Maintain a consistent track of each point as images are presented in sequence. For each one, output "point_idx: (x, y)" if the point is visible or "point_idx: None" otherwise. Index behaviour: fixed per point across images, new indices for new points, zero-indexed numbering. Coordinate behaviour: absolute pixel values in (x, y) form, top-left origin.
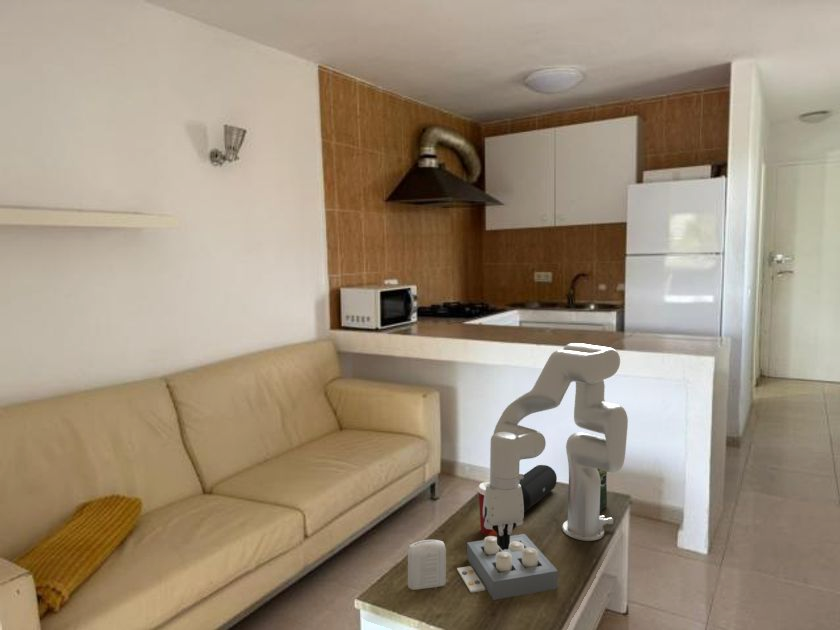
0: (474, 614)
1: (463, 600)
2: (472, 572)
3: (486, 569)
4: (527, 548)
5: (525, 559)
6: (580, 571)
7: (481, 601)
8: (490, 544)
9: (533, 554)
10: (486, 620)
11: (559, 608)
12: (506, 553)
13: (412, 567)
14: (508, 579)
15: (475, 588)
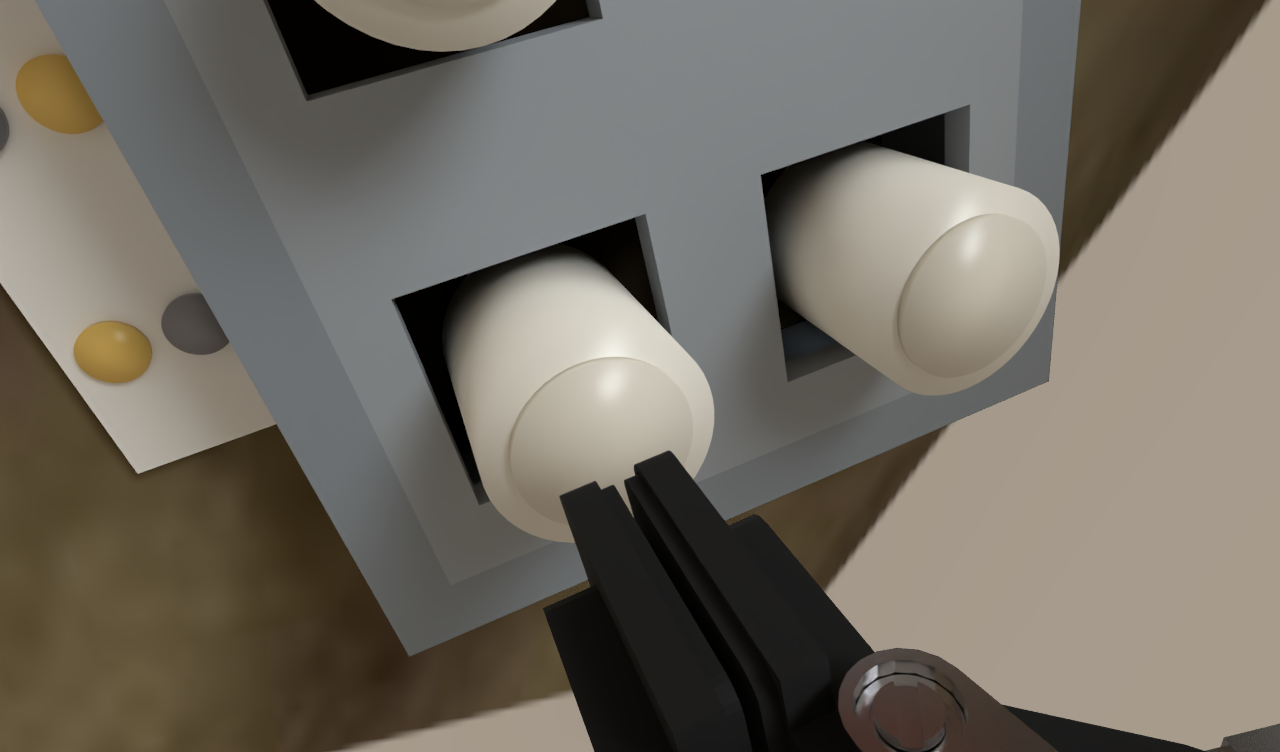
0: (224, 710)
1: (77, 580)
2: (96, 116)
3: (316, 459)
4: (974, 237)
5: (850, 346)
6: (1191, 57)
7: (276, 558)
8: (388, 38)
9: (979, 359)
10: (332, 737)
11: (850, 521)
12: (651, 402)
13: None
14: (573, 584)
15: (190, 428)
